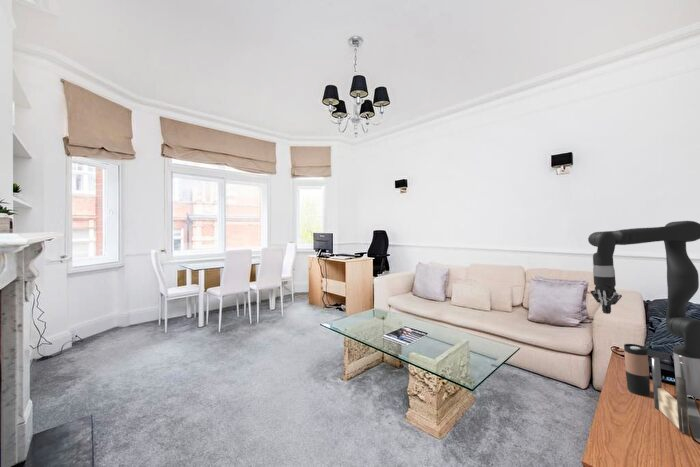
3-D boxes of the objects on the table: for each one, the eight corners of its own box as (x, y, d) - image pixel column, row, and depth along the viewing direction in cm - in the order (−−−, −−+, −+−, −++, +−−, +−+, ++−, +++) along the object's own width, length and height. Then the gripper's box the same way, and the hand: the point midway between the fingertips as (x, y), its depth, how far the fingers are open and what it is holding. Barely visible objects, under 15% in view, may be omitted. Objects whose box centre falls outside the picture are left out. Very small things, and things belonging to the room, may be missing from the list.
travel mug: (640, 387, 133) (637, 343, 134) (656, 396, 126) (652, 349, 126) (622, 387, 134) (619, 343, 135) (636, 396, 126) (633, 349, 127)
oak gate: (657, 409, 116) (654, 362, 116) (665, 410, 115) (662, 363, 115) (681, 432, 102) (677, 379, 103) (691, 434, 101) (687, 380, 102)
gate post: (658, 406, 119) (654, 356, 119) (665, 409, 116) (661, 359, 117) (653, 407, 118) (649, 357, 119) (660, 410, 116) (656, 359, 116)
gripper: (626, 276, 127) (629, 316, 127) (597, 273, 140) (599, 309, 140) (611, 277, 126) (614, 317, 126) (583, 274, 139) (585, 310, 139)
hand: (606, 313), depth 133 cm, fingers closed
